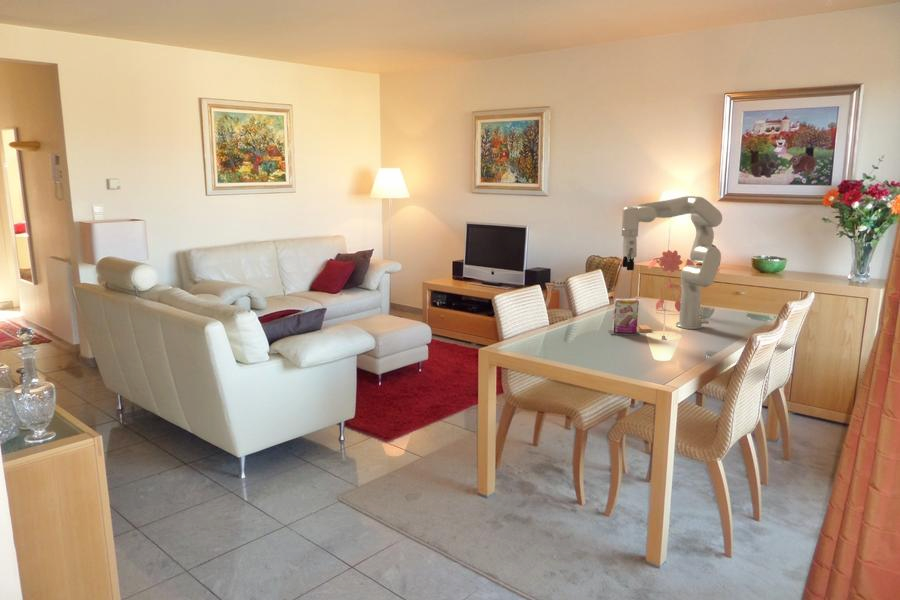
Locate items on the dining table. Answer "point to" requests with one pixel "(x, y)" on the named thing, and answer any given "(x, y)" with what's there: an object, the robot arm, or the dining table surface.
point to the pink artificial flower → (670, 263)
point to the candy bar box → (625, 315)
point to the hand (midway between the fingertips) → (627, 268)
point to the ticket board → (643, 328)
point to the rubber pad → (623, 333)
